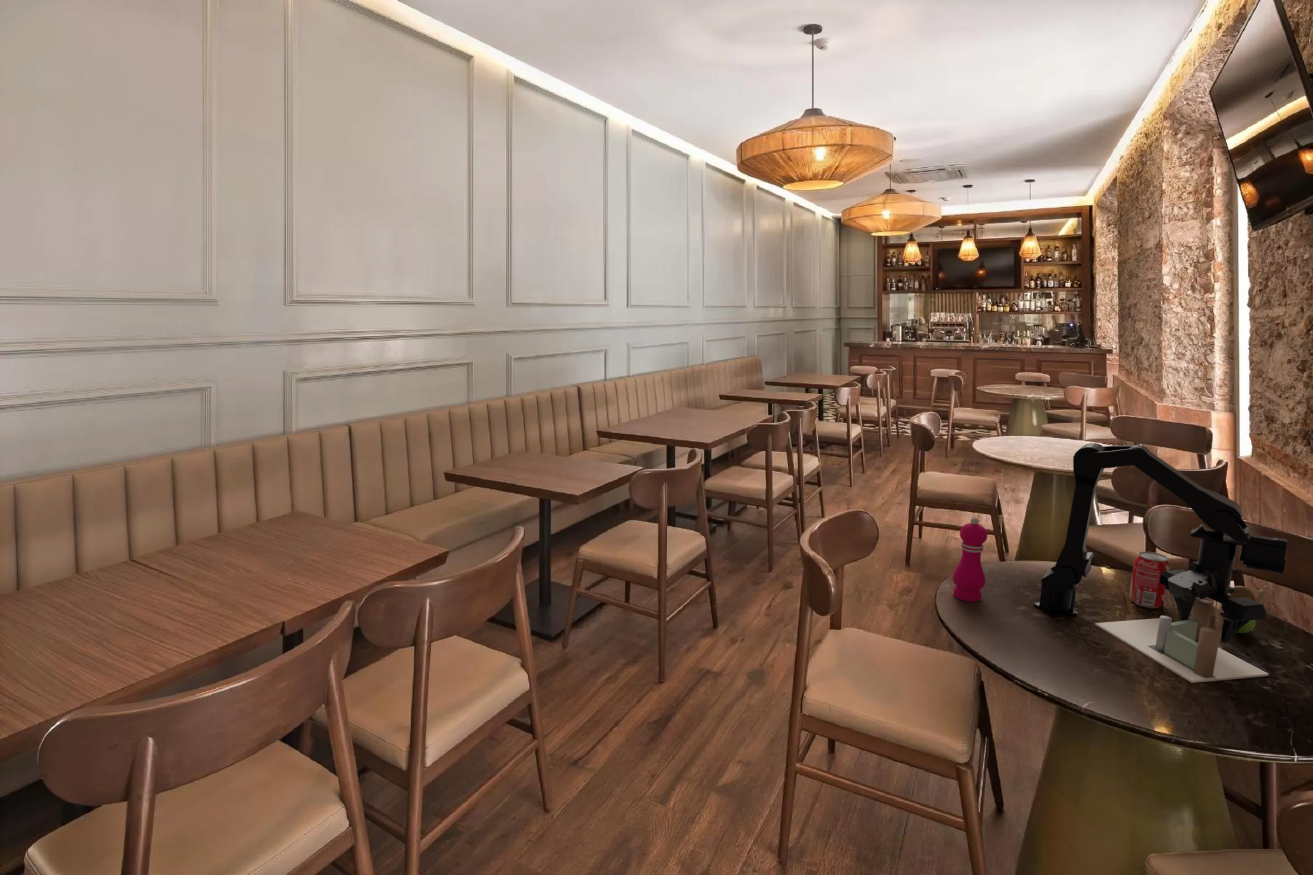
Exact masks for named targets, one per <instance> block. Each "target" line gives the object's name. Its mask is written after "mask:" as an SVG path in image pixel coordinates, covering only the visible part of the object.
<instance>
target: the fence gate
mask: <svg viewBox="0 0 1313 875" xmlns="http://www.w3.org/2000/svg"><path fill="white" fill-rule="evenodd" d="M1213 605H1214V603H1213V602H1212V601H1210V600H1207V599H1205V598H1204V599H1200V598H1196V599H1195V601H1194V604H1193V607H1192V614H1191V619H1188V620H1184V621H1180V620H1178V621H1173V622H1172V623H1171V629H1170V630H1174V631H1176V632H1178V633H1180V634H1182V635H1184V636H1186V637H1187V638H1189V639H1191V640H1193V641H1195V642H1197V643H1198V641H1199V635H1200V630H1201V627H1210V623H1211V618H1212V612H1213Z"/></svg>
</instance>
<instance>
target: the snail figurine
mask: <svg viewBox="0 0 1313 875" xmlns="http://www.w3.org/2000/svg"><path fill="white" fill-rule="evenodd" d="M1232 588H1234V589H1235V590H1234V593H1230V594H1229V596H1230V597H1232V598H1241V597H1247V598H1249V599H1252V600H1254V601H1256V602H1259V603H1261V604H1263V603H1262V602H1263V601H1264V598H1265V597H1266V595H1267V589H1268V588H1269V586H1268V585H1265V586H1263V587H1262V588H1263V589H1259V590H1258V591H1257V596H1256V597H1255V594H1254V592H1253V591H1252V590H1251V589H1250V588H1248V587H1247V586H1243V585H1236V586H1232ZM1222 620H1223V621H1224V619H1223V618H1222ZM1223 621H1222V622H1223ZM1255 627H1256V620H1250V621H1249V622H1248V623H1247V624H1245V625H1244V626H1243V627H1242V628H1241V629H1240V630H1239V631H1238V632H1237V633H1236V634H1246V633H1250V632H1251V631H1253V629H1254V628H1255Z"/></svg>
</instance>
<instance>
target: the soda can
mask: <svg viewBox="0 0 1313 875" xmlns="http://www.w3.org/2000/svg"><path fill="white" fill-rule="evenodd" d="M1168 570H1171V565H1170V563H1169V557H1168V556H1166V555H1164V554H1161V553H1157V552H1152V551H1140V552H1138V555H1137V557H1136V558H1135V559H1134V562H1133V568H1132V573H1131V580H1130V586H1129V587H1130V588H1129V599H1130V600H1131V601H1132V602H1133V603H1134V604H1136V605H1137V606H1140V607H1144V608H1148V609H1157V608H1160V607H1163V606H1164V605H1165V601H1166V598H1167V593H1168V590H1167V589H1165V588H1164V586H1165V585H1163V584H1161V583H1159V581H1160V575H1161V574H1162V573H1163V572H1164V571H1168Z"/></svg>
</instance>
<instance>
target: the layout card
mask: <svg viewBox="0 0 1313 875" xmlns="http://www.w3.org/2000/svg"><path fill="white" fill-rule="evenodd" d="M1159 620H1160V617H1158V618H1147V619H1133V620H1119V621H1107V622H1106V621H1105V622H1096V623H1094V625H1095V626H1096V627H1098V628H1099V629H1101V630H1103V631H1105V632H1106V633H1107V634H1109V635H1111V636H1112V637H1114V638H1116V639H1118V640H1119V641H1121V642H1123V643H1124V644H1126V645H1128V646H1130V647H1131V648H1133V649H1134V650H1136V651H1138V652H1139V653H1140V654H1143V655H1145V656H1146V657H1148V658H1149V659H1151V660H1152V661H1155V663H1158V664H1159V665H1161V666H1163V667H1165V668H1166V669H1168V670H1169V671H1171V672H1173V673H1174V674H1176V675H1178V676H1180V677H1181V678H1182V679H1184V680H1186V681H1188V682H1189V683H1191V684H1193V683H1205V682H1206V683H1207V682H1217V681H1227V680H1237V679H1248V678H1257V677H1259V678H1260V677H1269V673H1268V672H1266V671H1264V670H1263V669H1260V668H1258V667H1256V666H1254V665H1252V664H1251V663H1249V662H1247V661H1245V660H1243V659H1242V658H1239V657H1238V656H1235V655H1233V654H1231V653H1230V652H1227V651H1226V650H1224V649H1223V648H1220V647H1218V651H1217V656H1216V662H1215V667H1214V673H1213V677H1204V676H1203V677H1202V676H1199V675H1197V674H1195V673H1194V672H1193V670H1194V669H1192V668H1190V667H1189V666H1187V665H1185V664H1183V663H1182V662H1180V661H1178V660H1176V659H1175V658H1173V657H1171V656H1170V655H1168V654H1166V653H1164V651H1160V650H1157V649H1156V648H1155V645H1156V639H1157V633H1158V626H1159Z"/></svg>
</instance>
